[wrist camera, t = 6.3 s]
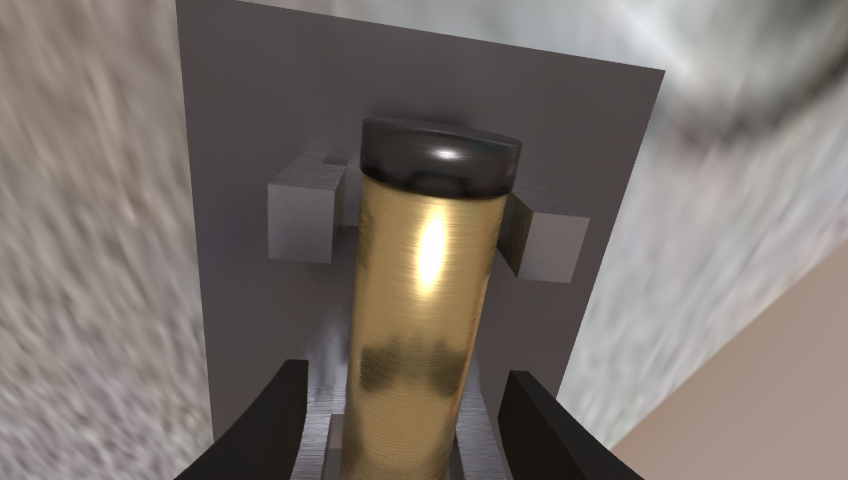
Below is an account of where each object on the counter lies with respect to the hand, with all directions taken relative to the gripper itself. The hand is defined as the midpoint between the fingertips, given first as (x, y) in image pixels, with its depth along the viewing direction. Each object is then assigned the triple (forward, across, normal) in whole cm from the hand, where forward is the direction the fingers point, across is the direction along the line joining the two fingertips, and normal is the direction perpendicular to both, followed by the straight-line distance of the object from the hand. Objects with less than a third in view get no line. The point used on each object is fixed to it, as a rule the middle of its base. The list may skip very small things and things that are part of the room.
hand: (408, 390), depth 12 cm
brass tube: (+3, 0, 0) cm, 3 cm away
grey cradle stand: (+6, 0, 0) cm, 6 cm away
